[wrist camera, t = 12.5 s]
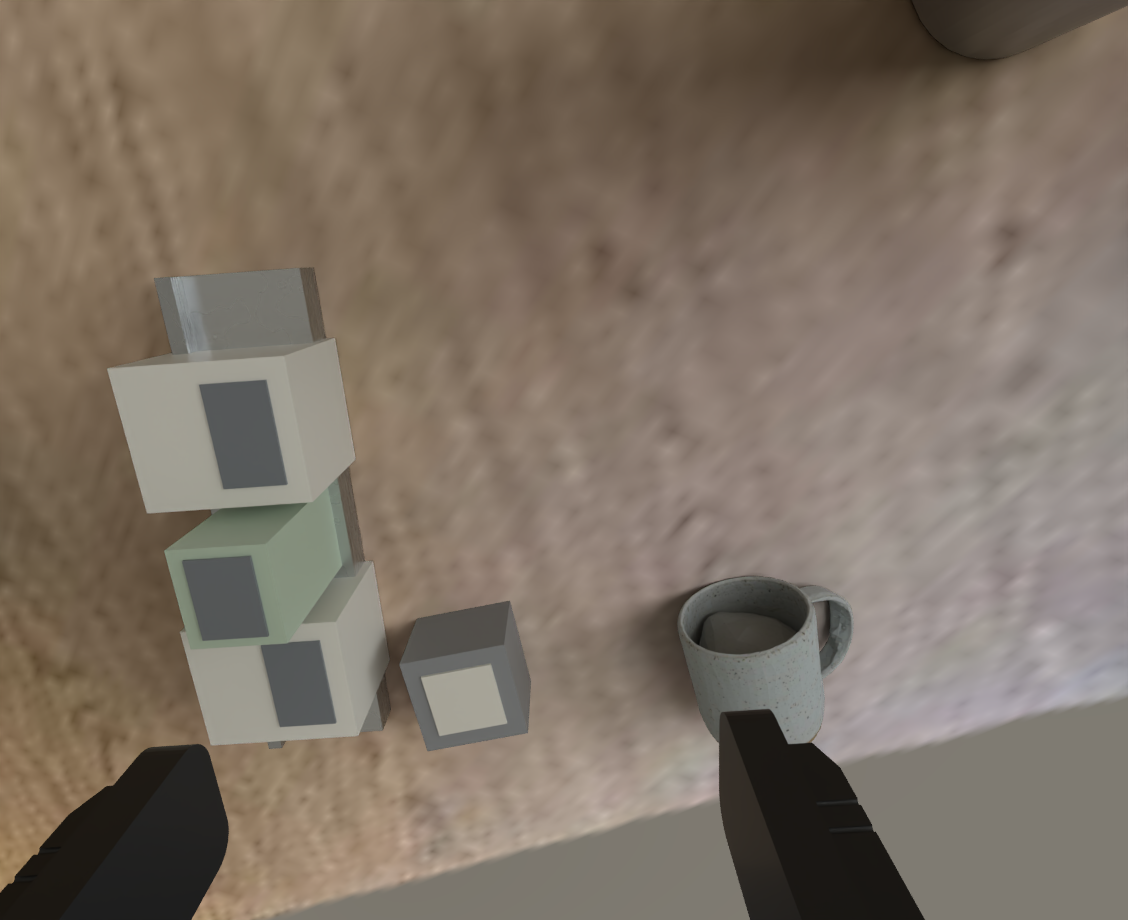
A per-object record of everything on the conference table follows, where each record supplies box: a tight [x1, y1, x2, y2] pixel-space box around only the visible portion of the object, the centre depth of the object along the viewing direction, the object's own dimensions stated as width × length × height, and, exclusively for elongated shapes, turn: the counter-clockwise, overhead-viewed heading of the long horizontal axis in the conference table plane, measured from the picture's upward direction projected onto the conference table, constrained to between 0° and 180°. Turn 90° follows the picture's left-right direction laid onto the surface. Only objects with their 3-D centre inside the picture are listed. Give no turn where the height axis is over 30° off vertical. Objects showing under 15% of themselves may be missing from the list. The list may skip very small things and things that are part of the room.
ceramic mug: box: [677, 576, 853, 744], centre depth 38 cm, size 11×8×8 cm
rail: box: [154, 267, 391, 749], centre depth 38 cm, size 7×28×3 cm, turn 4°
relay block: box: [399, 601, 531, 751], centre depth 40 cm, size 6×6×5 cm
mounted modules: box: [107, 338, 390, 745], centre depth 36 cm, size 8×20×7 cm, turn 4°
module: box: [164, 487, 342, 650], centre depth 33 cm, size 4×5×8 cm
